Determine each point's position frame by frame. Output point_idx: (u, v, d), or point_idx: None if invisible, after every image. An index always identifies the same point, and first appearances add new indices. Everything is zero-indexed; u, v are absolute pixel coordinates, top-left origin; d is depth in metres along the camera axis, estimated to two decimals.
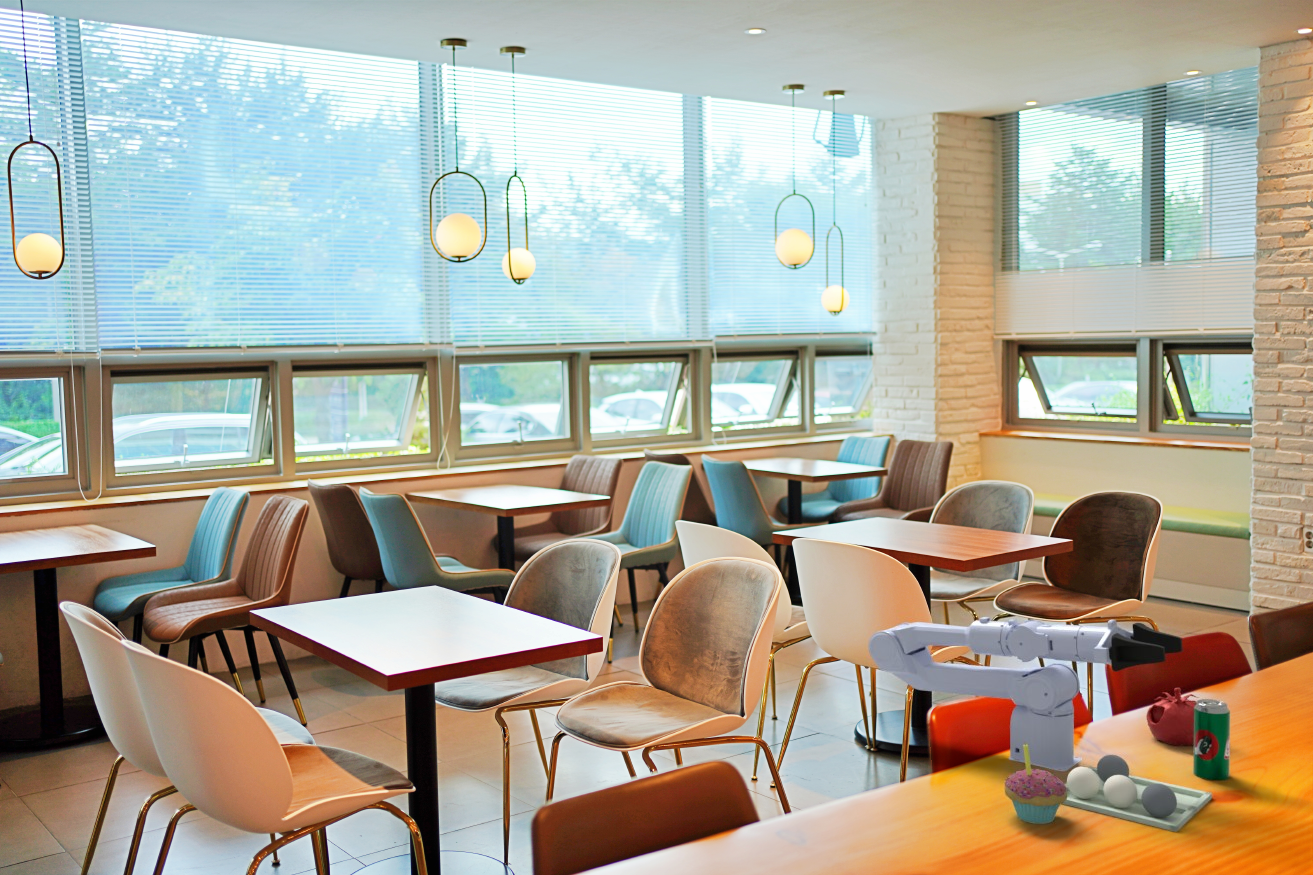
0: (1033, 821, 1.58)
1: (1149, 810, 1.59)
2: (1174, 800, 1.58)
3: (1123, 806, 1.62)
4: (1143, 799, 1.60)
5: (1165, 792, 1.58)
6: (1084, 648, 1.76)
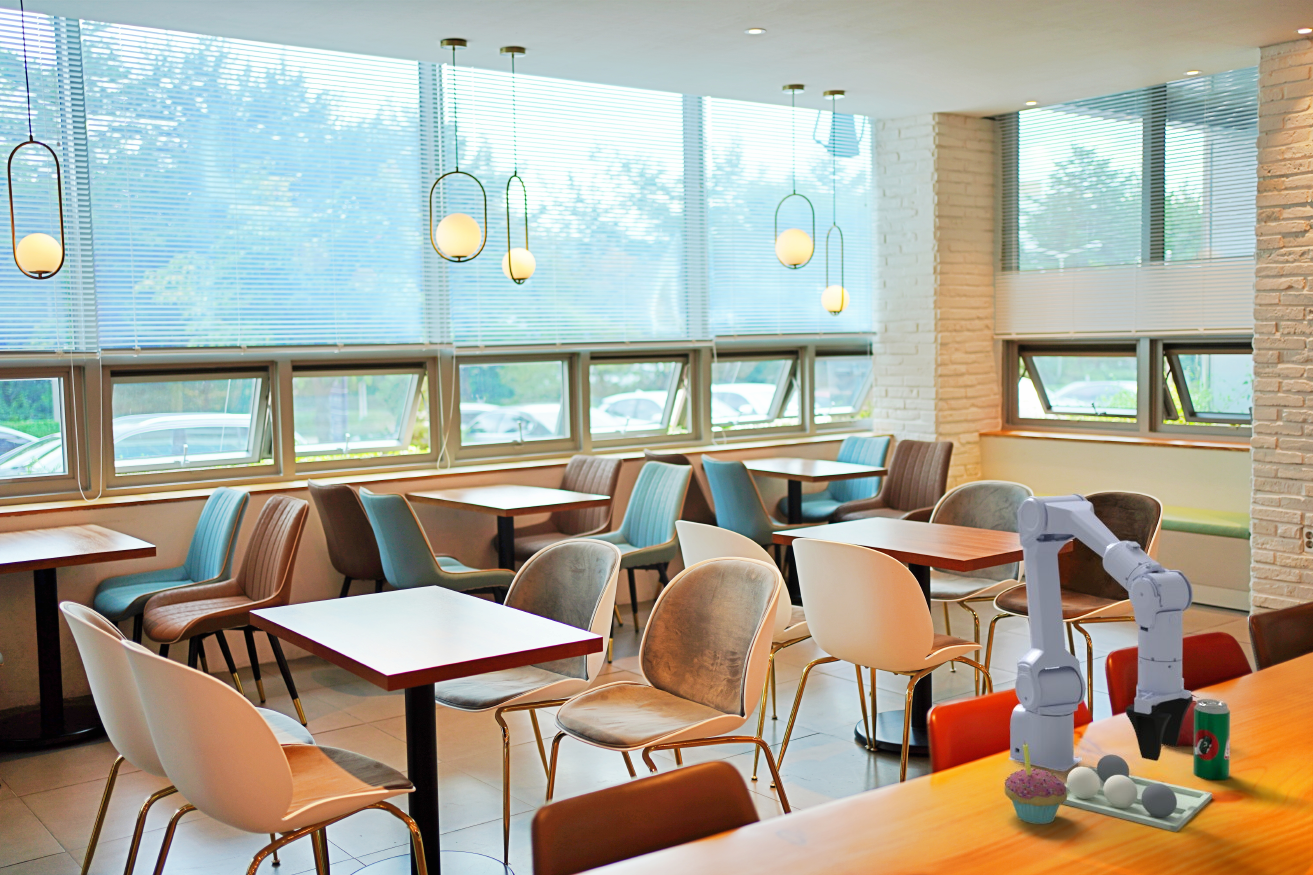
0: (1033, 821, 1.58)
1: (1149, 810, 1.59)
2: (1174, 800, 1.58)
3: (1123, 806, 1.62)
4: (1143, 799, 1.60)
5: (1165, 792, 1.58)
6: (1152, 669, 1.57)
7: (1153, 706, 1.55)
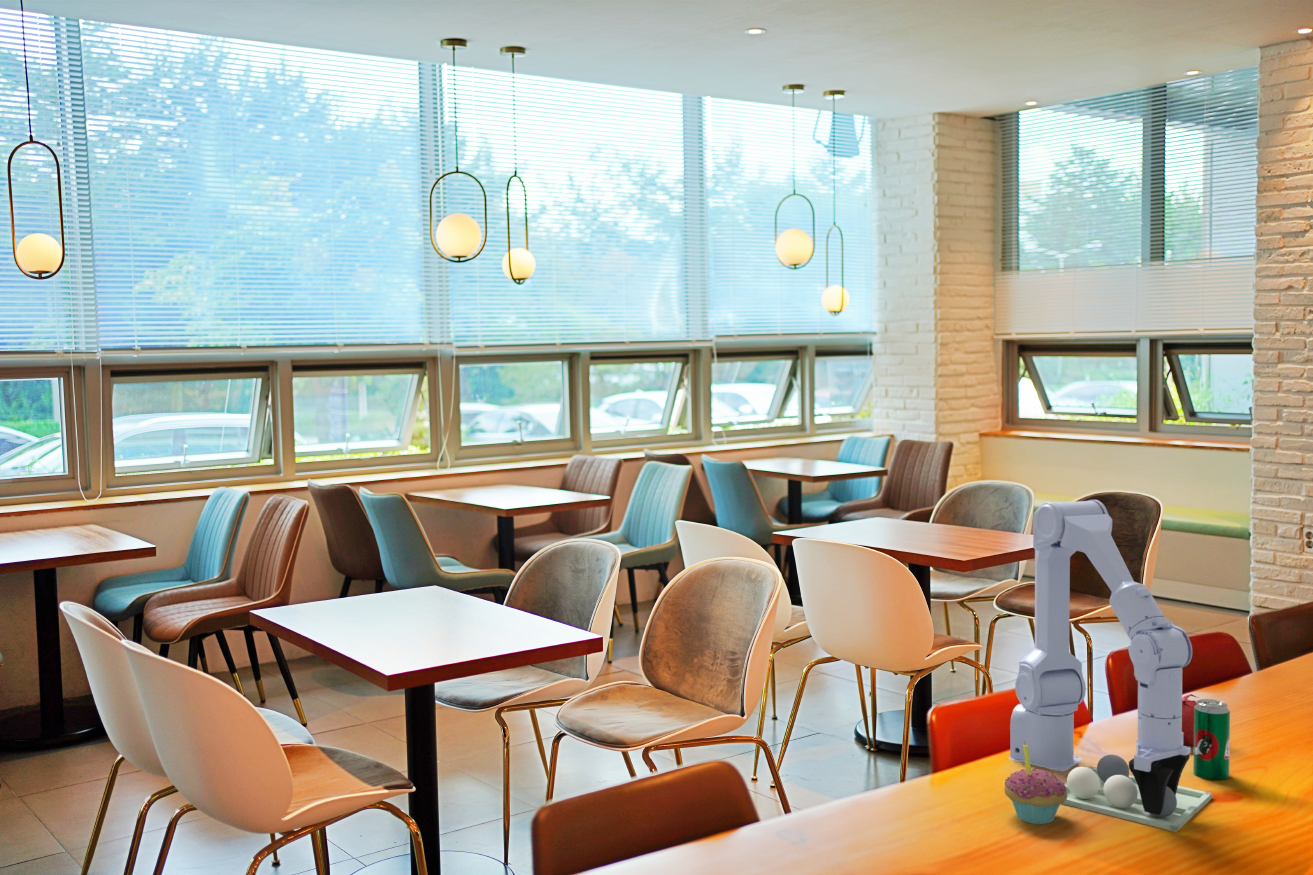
0: (1033, 821, 1.58)
1: None
2: (1174, 800, 1.58)
3: (1123, 806, 1.62)
4: None
5: (1165, 792, 1.58)
6: (1151, 725, 1.57)
7: (1153, 763, 1.56)
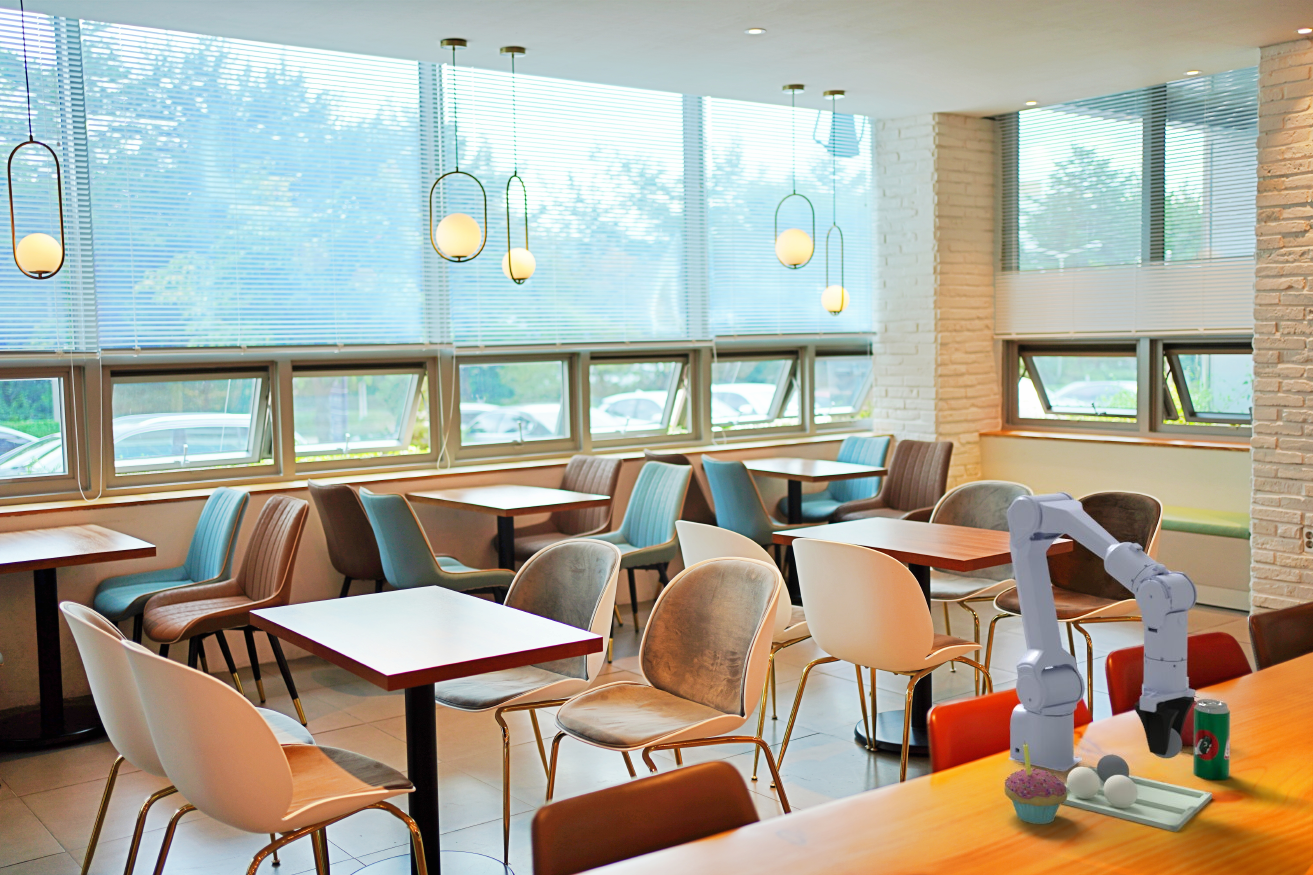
0: (1033, 821, 1.58)
1: None
2: (1179, 741, 1.62)
3: (1123, 806, 1.62)
4: None
5: (1170, 734, 1.62)
6: (1157, 668, 1.61)
7: (1158, 704, 1.60)
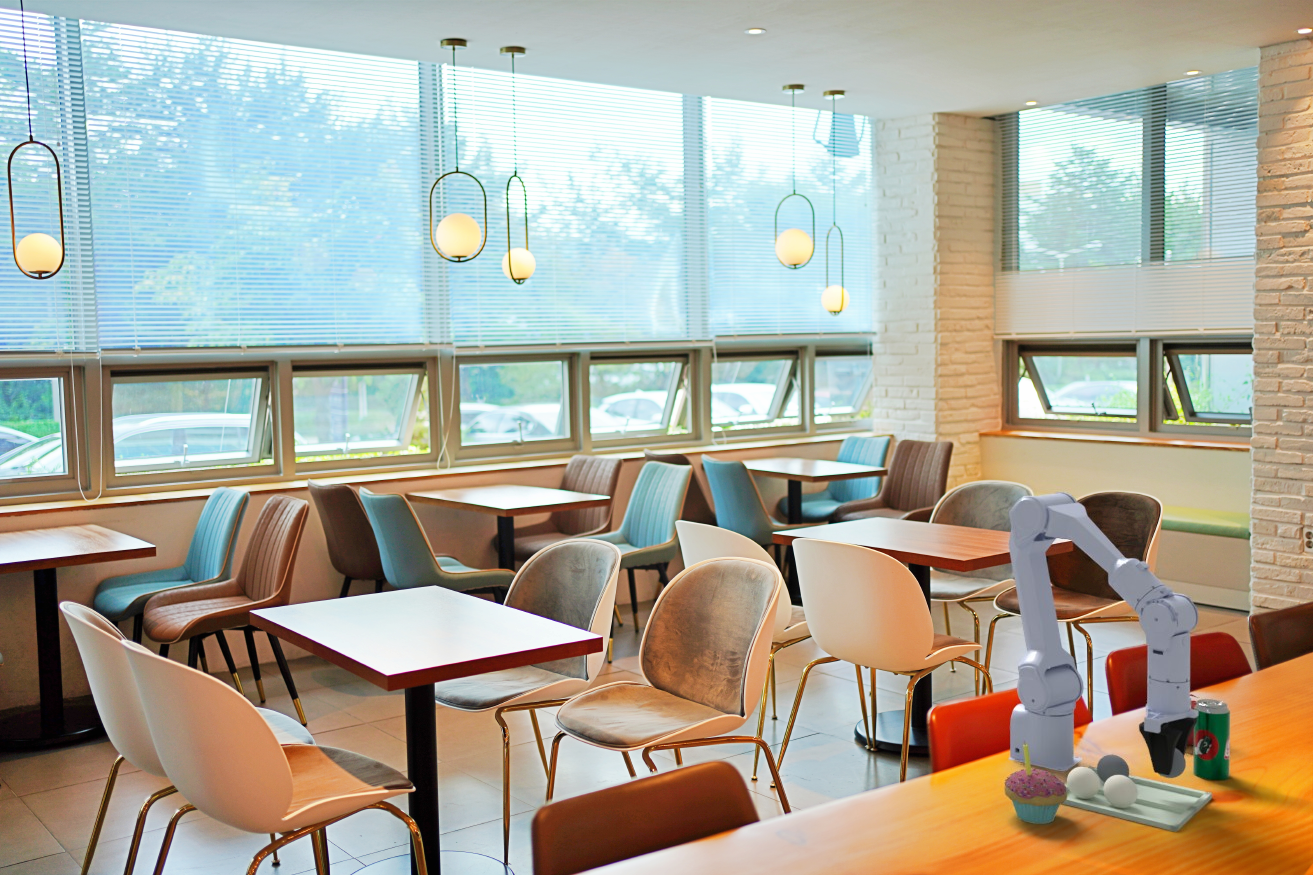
0: (1033, 821, 1.58)
1: None
2: (1183, 761, 1.65)
3: (1123, 806, 1.62)
4: None
5: (1174, 754, 1.65)
6: (1160, 689, 1.64)
7: (1162, 725, 1.63)
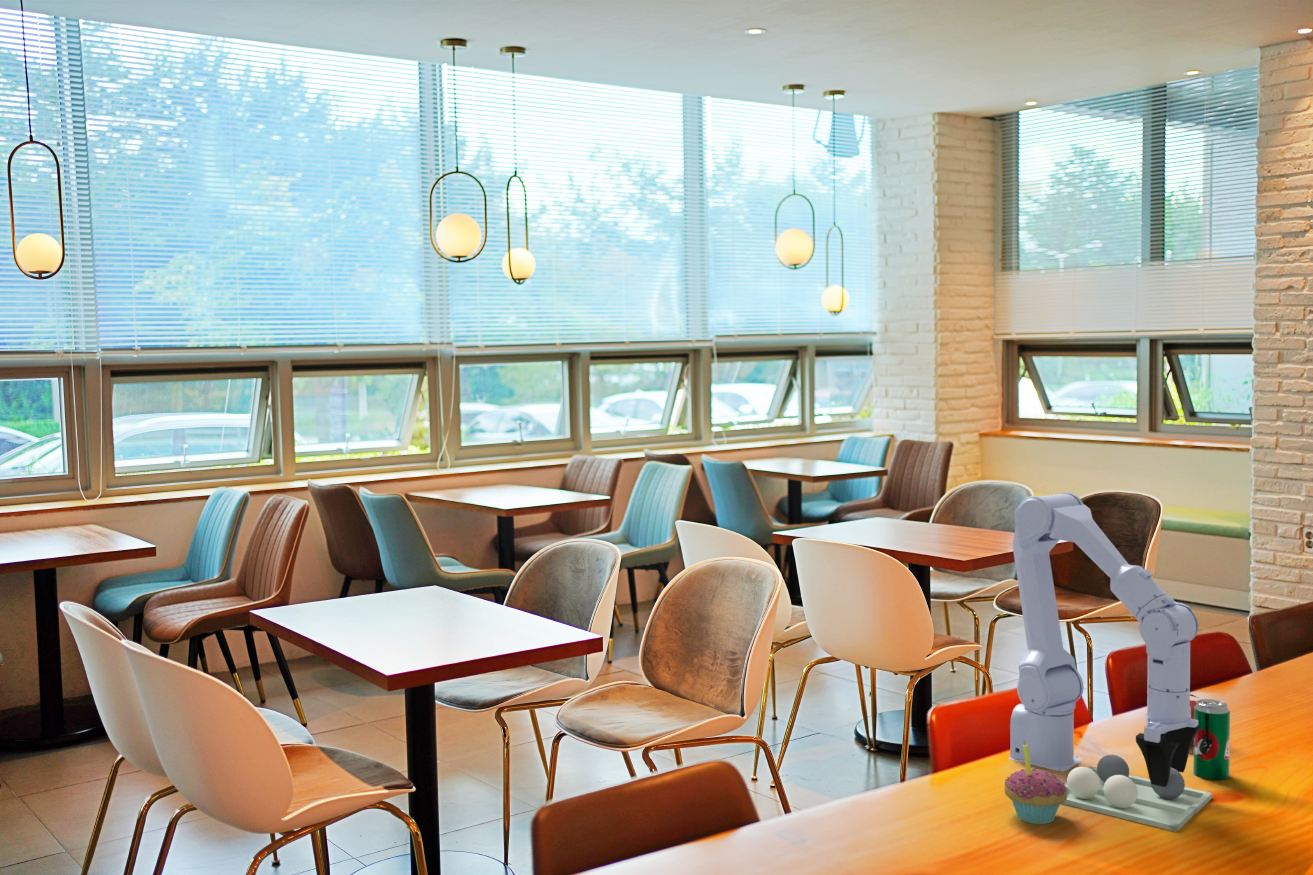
0: (1033, 821, 1.58)
1: (1158, 793, 1.66)
2: (1182, 783, 1.65)
3: (1123, 806, 1.62)
4: None
5: (1173, 776, 1.65)
6: (1160, 699, 1.64)
7: (1162, 735, 1.63)
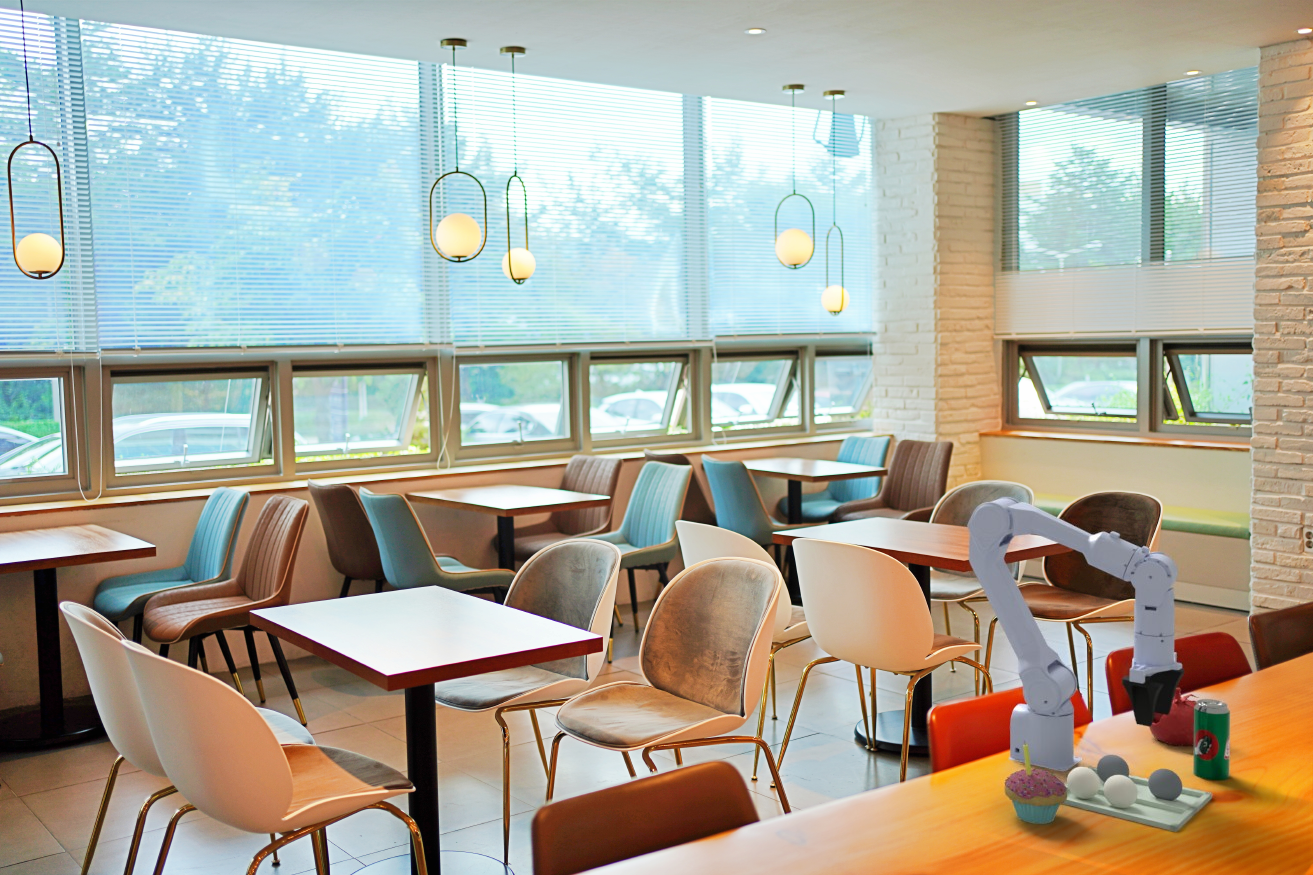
0: (1033, 821, 1.58)
1: None
2: (1179, 787, 1.64)
3: (1123, 806, 1.62)
4: (1150, 790, 1.66)
5: (1169, 785, 1.64)
6: (1146, 643, 1.72)
7: (1147, 676, 1.71)
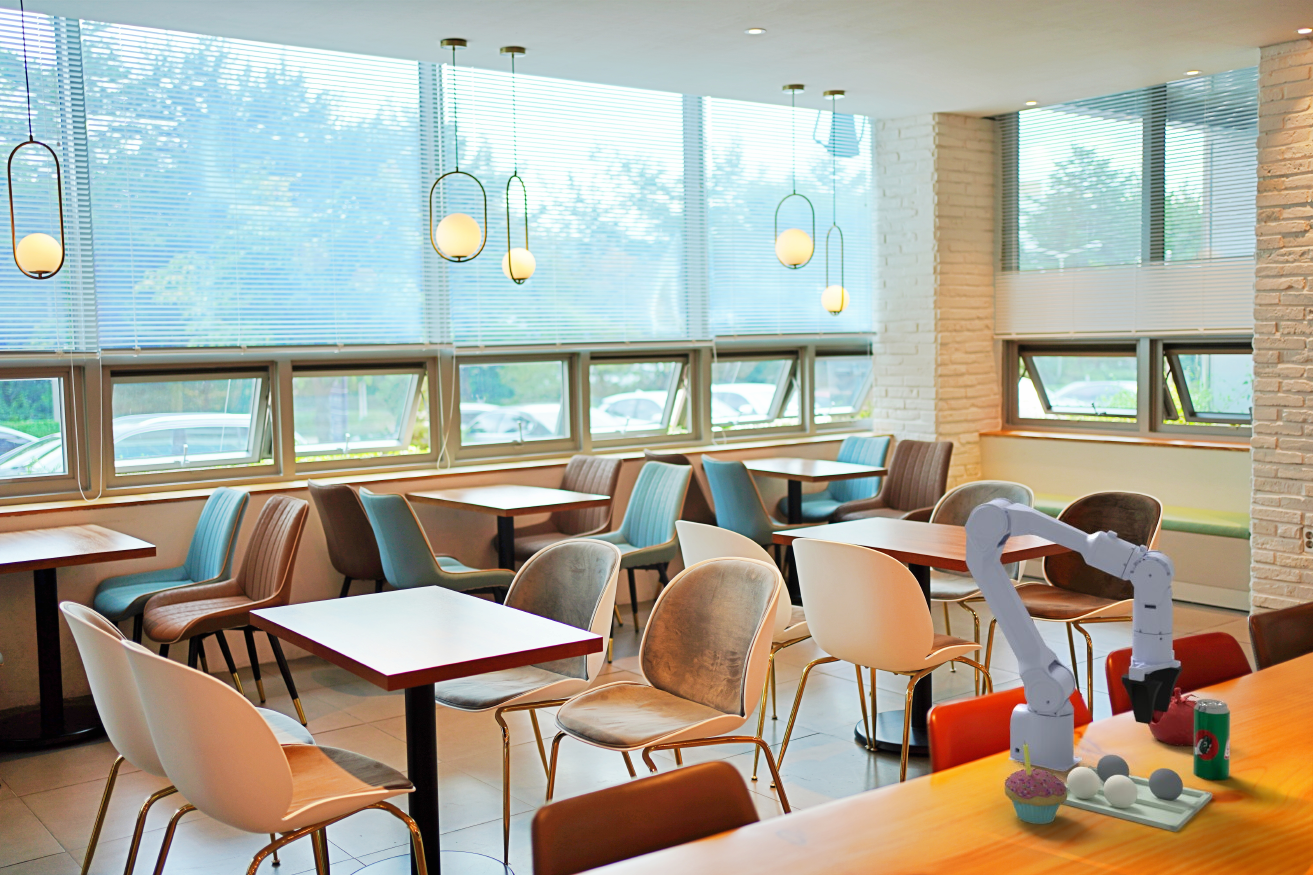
0: (1033, 821, 1.58)
1: (1158, 797, 1.66)
2: (1180, 786, 1.64)
3: (1123, 806, 1.62)
4: (1151, 788, 1.66)
5: (1170, 783, 1.64)
6: (1145, 641, 1.73)
7: (1146, 674, 1.72)
